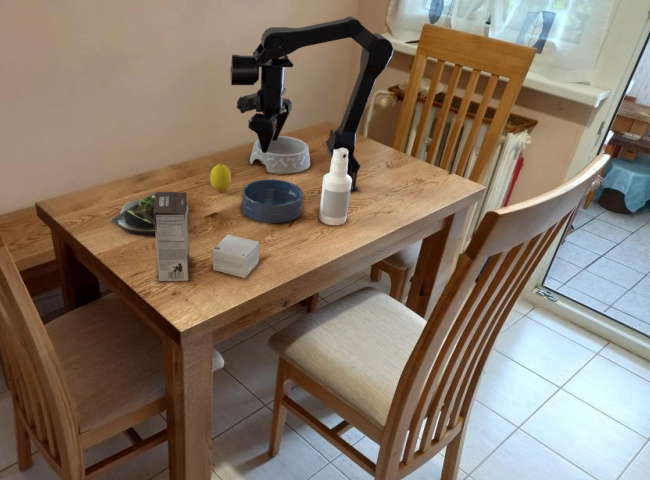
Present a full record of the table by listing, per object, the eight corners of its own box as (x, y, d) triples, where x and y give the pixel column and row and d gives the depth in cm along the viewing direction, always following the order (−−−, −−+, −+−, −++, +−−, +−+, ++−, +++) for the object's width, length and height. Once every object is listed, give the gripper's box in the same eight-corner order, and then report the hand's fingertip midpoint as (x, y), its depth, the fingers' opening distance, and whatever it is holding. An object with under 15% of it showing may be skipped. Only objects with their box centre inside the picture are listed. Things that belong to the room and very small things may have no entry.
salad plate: (124, 198, 150) (122, 181, 147) (193, 200, 150) (192, 184, 147) (107, 235, 134) (105, 217, 132) (184, 237, 134) (183, 220, 132)
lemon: (228, 197, 152) (228, 169, 148) (207, 195, 153) (207, 166, 148) (233, 189, 157) (233, 161, 152) (213, 186, 158) (213, 158, 153)
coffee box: (160, 258, 127) (155, 190, 117) (189, 258, 127) (187, 190, 118) (158, 281, 119) (152, 211, 110) (189, 281, 120) (186, 211, 110)
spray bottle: (328, 228, 141) (337, 157, 130) (313, 216, 145) (320, 147, 135) (351, 222, 143) (361, 153, 133) (336, 211, 148) (344, 143, 138)
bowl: (286, 193, 156) (287, 176, 153) (311, 218, 144) (313, 200, 141) (233, 201, 151) (233, 183, 148) (255, 228, 139) (256, 209, 136)
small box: (259, 261, 127) (260, 241, 124) (244, 279, 121) (245, 258, 118) (227, 253, 129) (228, 233, 126) (211, 270, 124) (211, 249, 121)
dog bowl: (279, 146, 183) (280, 129, 180) (322, 164, 173) (323, 147, 169) (238, 159, 174) (238, 142, 171) (281, 179, 163) (282, 161, 160)
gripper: (252, 72, 151) (251, 130, 160) (228, 91, 136) (228, 154, 145) (294, 77, 148) (290, 136, 157) (273, 97, 134) (270, 161, 143)
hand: (269, 146), depth 151 cm, fingers open, 9 cm apart
